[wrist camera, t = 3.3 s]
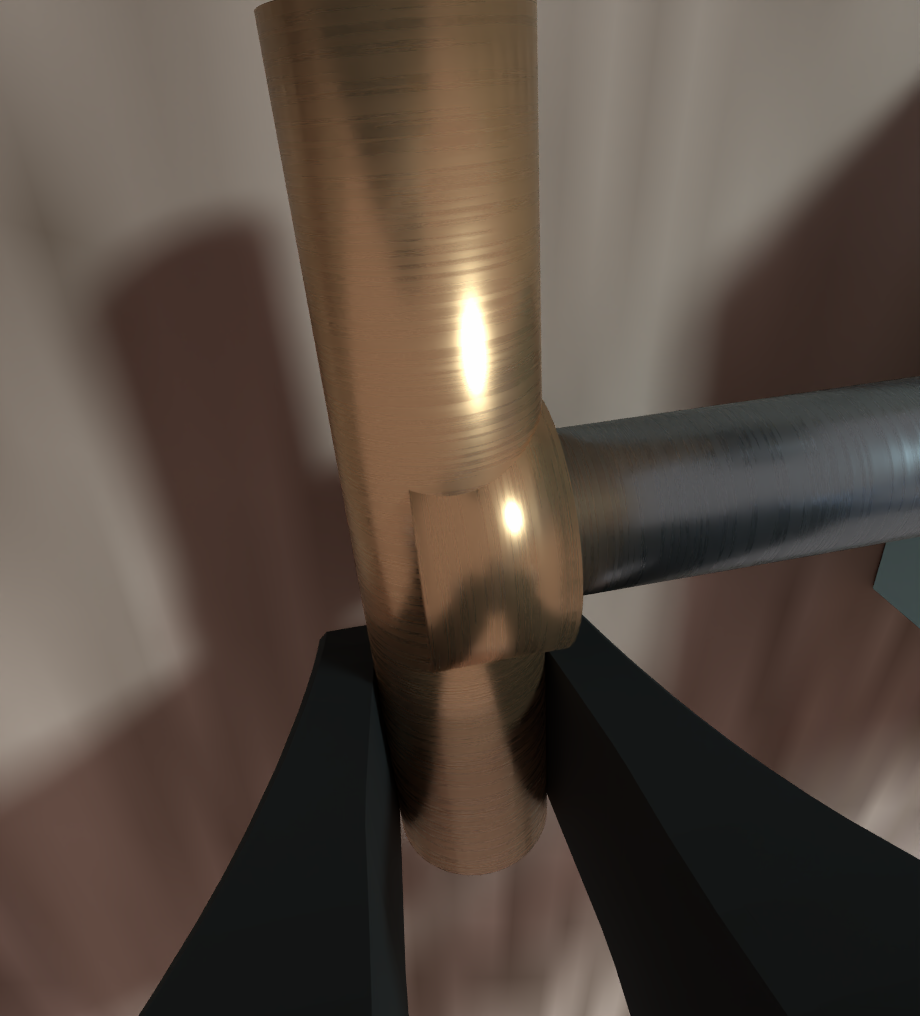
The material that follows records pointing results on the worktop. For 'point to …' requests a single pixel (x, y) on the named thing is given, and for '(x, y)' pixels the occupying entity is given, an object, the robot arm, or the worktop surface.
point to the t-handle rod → (508, 409)
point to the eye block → (901, 577)
